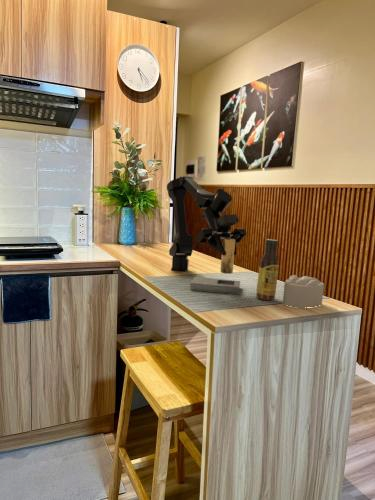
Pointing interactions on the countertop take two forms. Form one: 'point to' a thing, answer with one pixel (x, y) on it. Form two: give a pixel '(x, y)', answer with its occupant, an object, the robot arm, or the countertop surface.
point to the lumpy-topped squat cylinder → (303, 292)
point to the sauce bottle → (268, 272)
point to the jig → (215, 285)
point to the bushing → (228, 256)
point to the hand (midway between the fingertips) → (230, 254)
